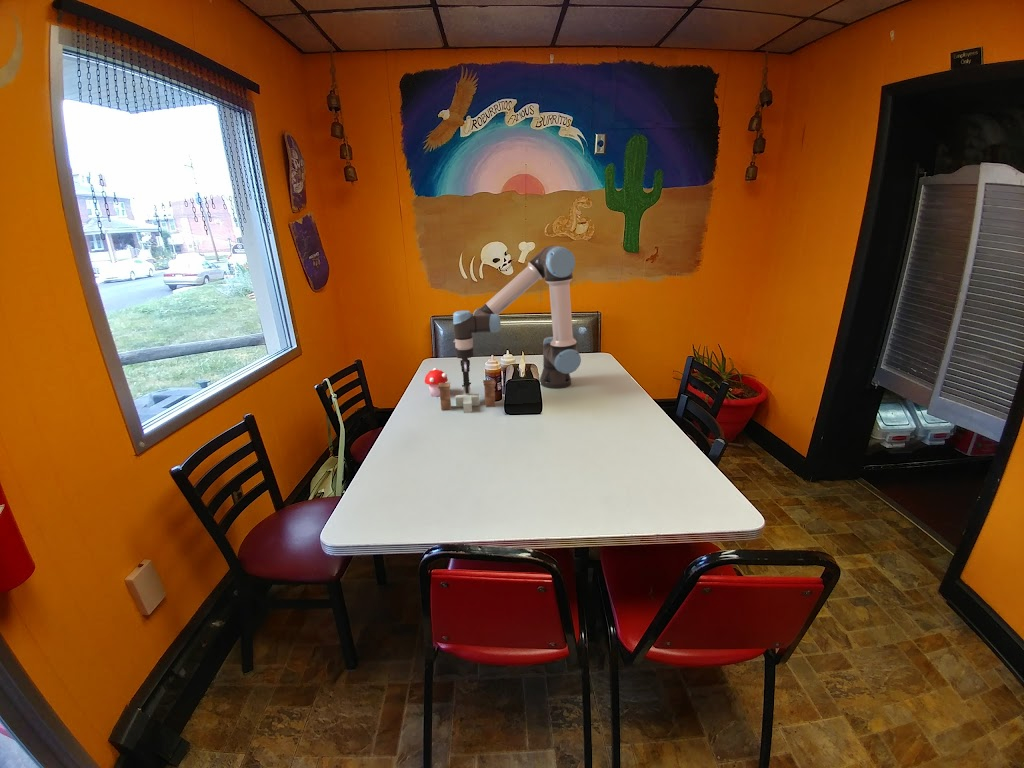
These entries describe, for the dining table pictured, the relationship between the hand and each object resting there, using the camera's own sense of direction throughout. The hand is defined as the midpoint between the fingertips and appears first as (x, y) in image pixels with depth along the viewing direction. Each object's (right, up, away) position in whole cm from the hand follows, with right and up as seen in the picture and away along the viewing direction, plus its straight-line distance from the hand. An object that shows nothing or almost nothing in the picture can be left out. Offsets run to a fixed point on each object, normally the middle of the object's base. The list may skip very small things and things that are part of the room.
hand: (467, 399), depth 197 cm
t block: (+1, -3, -5) cm, 6 cm away
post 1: (-9, -4, -5) cm, 11 cm away
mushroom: (-15, +2, +11) cm, 19 cm away
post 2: (+10, -2, -3) cm, 11 cm away
